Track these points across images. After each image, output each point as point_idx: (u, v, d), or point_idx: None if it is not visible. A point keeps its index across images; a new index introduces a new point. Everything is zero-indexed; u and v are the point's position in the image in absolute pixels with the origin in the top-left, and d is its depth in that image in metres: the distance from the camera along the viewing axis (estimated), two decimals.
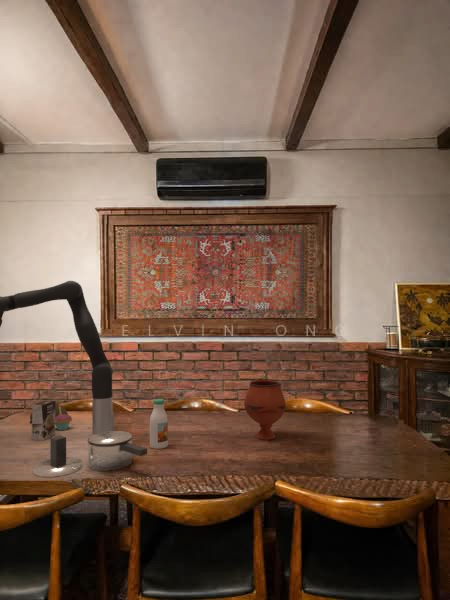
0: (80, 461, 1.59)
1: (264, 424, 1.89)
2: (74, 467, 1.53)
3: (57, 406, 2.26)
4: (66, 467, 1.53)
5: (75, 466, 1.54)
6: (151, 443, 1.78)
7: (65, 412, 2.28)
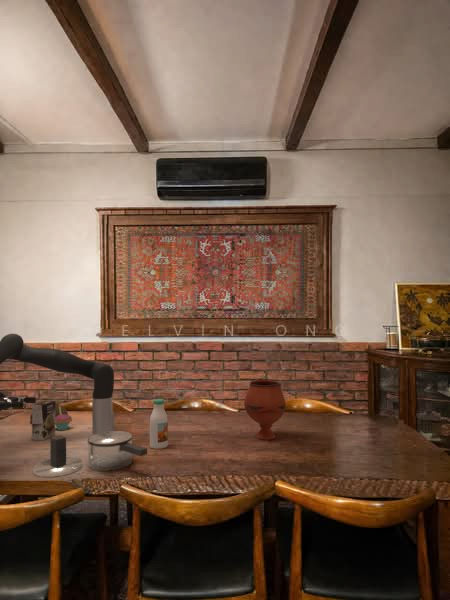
0: (80, 461, 1.59)
1: (264, 424, 1.89)
2: (74, 467, 1.53)
3: (57, 406, 2.26)
4: (66, 467, 1.53)
5: (75, 466, 1.54)
6: (151, 443, 1.78)
7: (65, 412, 2.28)
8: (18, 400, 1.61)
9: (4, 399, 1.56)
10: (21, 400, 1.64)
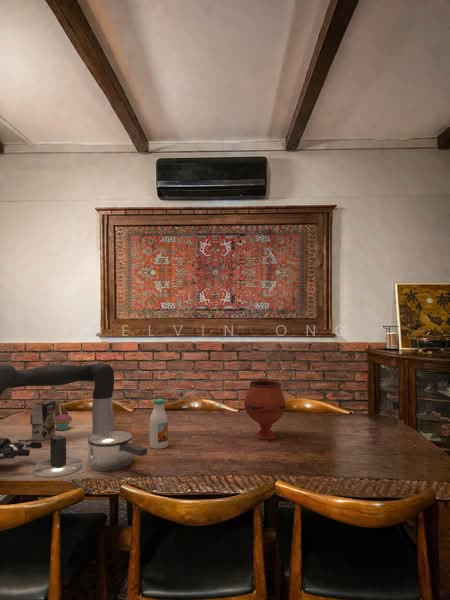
0: (80, 461, 1.59)
1: (264, 424, 1.89)
2: (74, 467, 1.53)
3: (58, 406, 2.26)
4: (66, 467, 1.53)
5: (75, 466, 1.54)
6: (151, 443, 1.78)
7: (66, 412, 2.28)
8: (24, 446, 1.60)
9: (10, 446, 1.55)
10: (27, 445, 1.64)
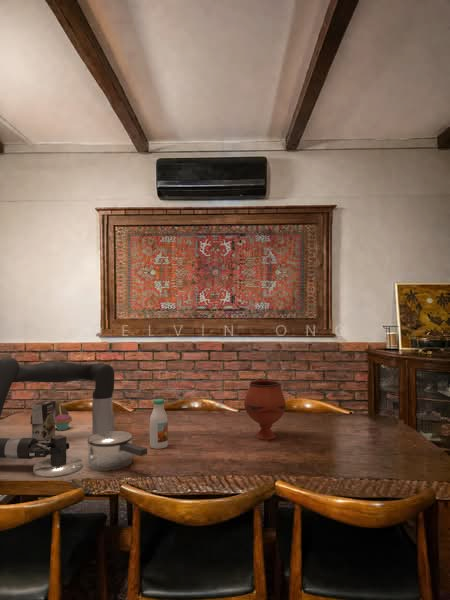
0: (80, 460, 1.59)
1: (264, 424, 1.89)
2: (74, 466, 1.53)
3: (58, 406, 2.26)
4: (66, 466, 1.53)
5: (75, 466, 1.54)
6: (151, 443, 1.78)
7: (66, 412, 2.28)
8: None
9: (39, 446, 1.54)
10: None
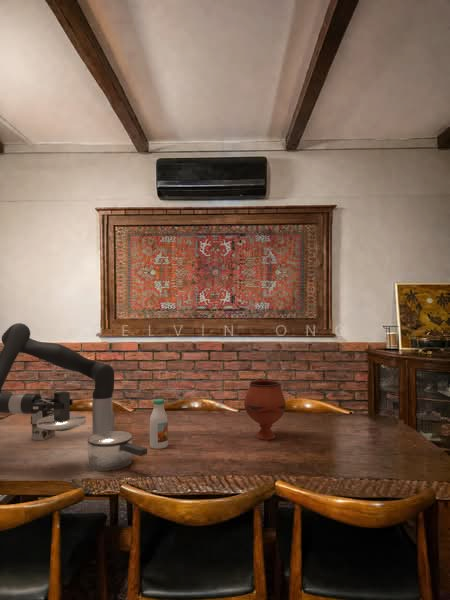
0: (83, 417, 1.60)
1: (264, 424, 1.89)
2: (77, 421, 1.54)
3: None
4: (69, 421, 1.54)
5: (79, 420, 1.55)
6: (151, 443, 1.78)
7: None
8: None
9: (43, 401, 1.55)
10: None
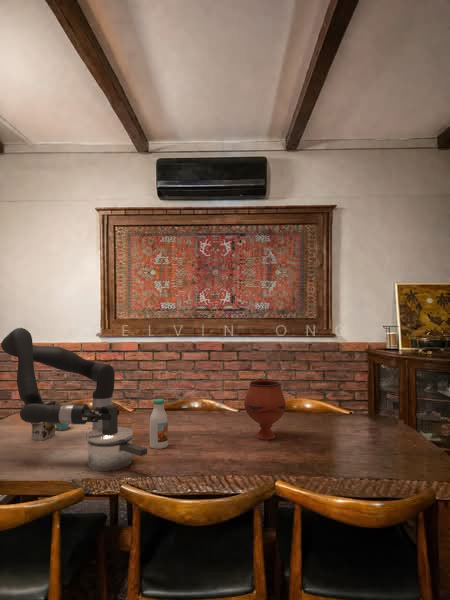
0: (130, 430, 1.65)
1: (264, 424, 1.89)
2: (126, 434, 1.58)
3: None
4: (118, 434, 1.58)
5: (127, 434, 1.59)
6: (151, 443, 1.78)
7: None
8: None
9: (91, 411, 1.59)
10: None
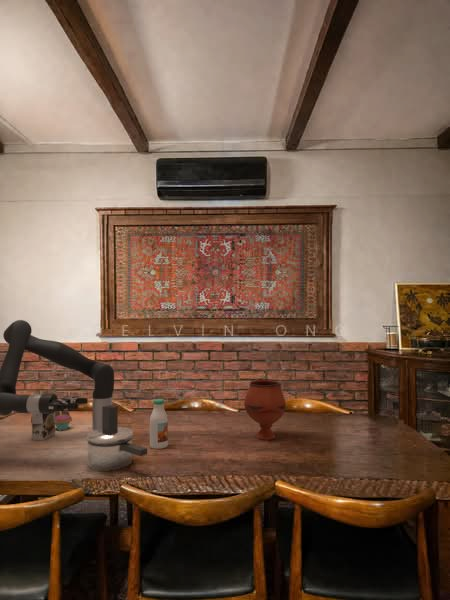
0: (130, 430, 1.65)
1: (264, 424, 1.89)
2: (126, 434, 1.58)
3: None
4: (118, 434, 1.58)
5: (127, 434, 1.59)
6: (151, 443, 1.78)
7: (67, 412, 2.28)
8: (70, 401, 1.66)
9: (58, 401, 1.60)
10: (72, 401, 1.69)
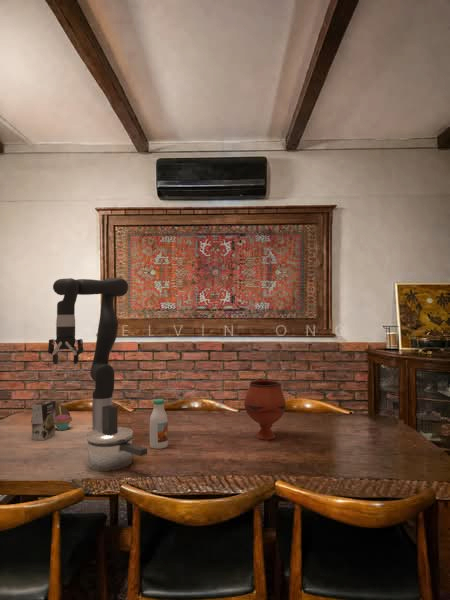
0: (130, 430, 1.65)
1: (264, 424, 1.89)
2: (126, 434, 1.58)
3: (60, 406, 2.25)
4: (118, 434, 1.58)
5: (127, 434, 1.59)
6: (151, 443, 1.78)
7: (67, 412, 2.28)
8: (59, 349, 1.78)
9: None
10: None
